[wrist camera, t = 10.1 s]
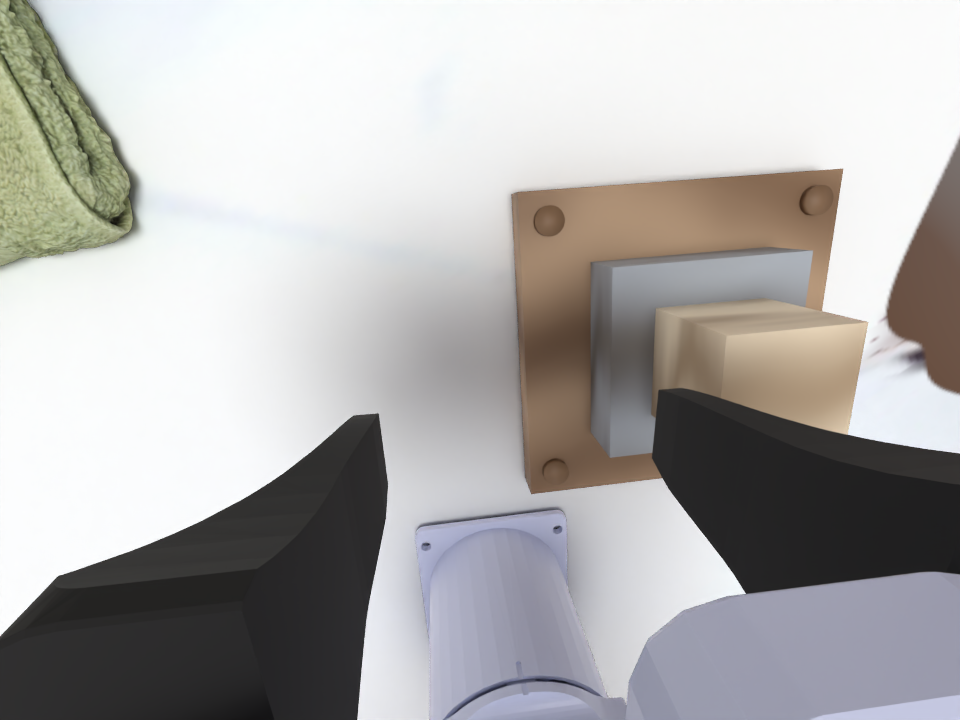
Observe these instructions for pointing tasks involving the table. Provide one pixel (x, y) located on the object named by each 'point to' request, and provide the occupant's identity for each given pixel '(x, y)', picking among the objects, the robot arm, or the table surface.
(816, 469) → the robot arm
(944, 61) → the table surface
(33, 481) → the table surface
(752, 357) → the beech brick
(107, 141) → the washcloth
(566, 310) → the tower base
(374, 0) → the table surface
